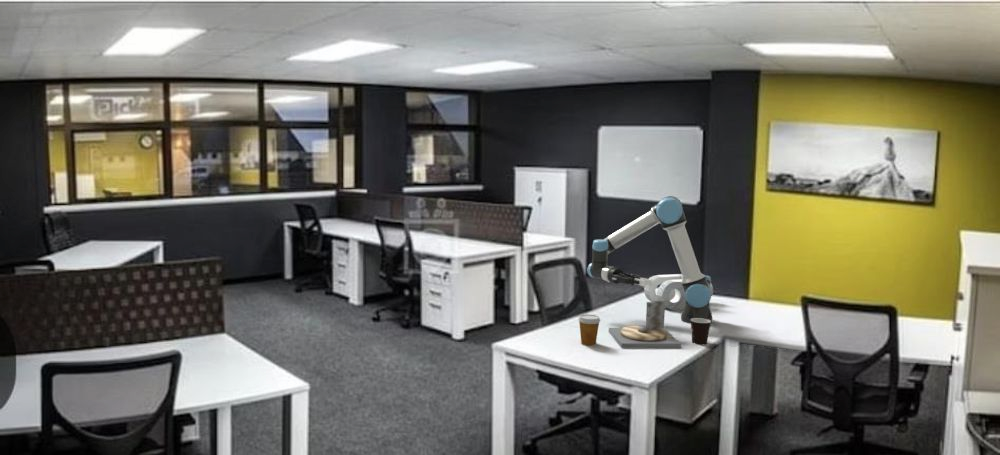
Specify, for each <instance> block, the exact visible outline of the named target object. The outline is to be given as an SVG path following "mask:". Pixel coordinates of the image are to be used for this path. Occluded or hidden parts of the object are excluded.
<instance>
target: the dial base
mask: <svg viewBox="0 0 1000 455" xmlns="http://www.w3.org/2000/svg"><path fill="white" fill-rule="evenodd" d="M622 328H623V327H608V333H609V335H610V336H611V337H612V338H613V339H614V341H615V342H616V343H617V345H618V346H619V347H620V348H621V349H678V348H679V349H681V348H682V342H680V341H679V340H678V339H676V338H677V337H675V336H673V335H672V333H670V332H669V331H668V330H667V329H666V328H665V327H664V328H663V329H662V330H664V331H666V333H667V334H666V338H665V339H662V340H657V341H641V340H634V339H630V338H626V337H624V336H622V335H621V329H622Z"/></svg>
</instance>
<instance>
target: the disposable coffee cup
mask: <svg viewBox="0 0 1000 455" xmlns="http://www.w3.org/2000/svg"><path fill="white" fill-rule="evenodd" d="M600 323H601V319H600V316H599V315H597V314H589V313H585V314H581V315H579V317H578V324H579V332H580V334H579V335H580V343H581V344H582V345H584V346H595V345H596V344H597V338H598V331H599V325H600Z"/></svg>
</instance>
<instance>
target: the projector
mask: <svg viewBox="0 0 1000 455" xmlns="http://www.w3.org/2000/svg"><path fill="white" fill-rule="evenodd" d="M648 279H650V280H652V283H651V286H648V285H646V287H643V291H644V292H643V293H644V296H645V297H646V299H647V300H648V301H649V302H651V301H657V300H665V309H668V310H671V311H674V310H683V309H684V306H685V300H686V298H685V292H684V289H683V286H682V283H681V282H682V280H683V276H682V273H675V274H674V273H673V274H657V275H652V276H650V277H649V278H648ZM658 286H659V287H658ZM657 287H658V289H657V292H656V288H657ZM710 290H711V297H713V294H714V286H713V285H712V283H711V286H710Z"/></svg>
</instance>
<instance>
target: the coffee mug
mask: <svg viewBox="0 0 1000 455" xmlns="http://www.w3.org/2000/svg"><path fill="white" fill-rule="evenodd" d="M710 328H711V321H710V320H708V319H703V318H693V319H691V323H690V331H691V342H692V344H694V343H695V344H694V345H702V346H703V344H704V345H707V343H708V339H709V334H710Z"/></svg>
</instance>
